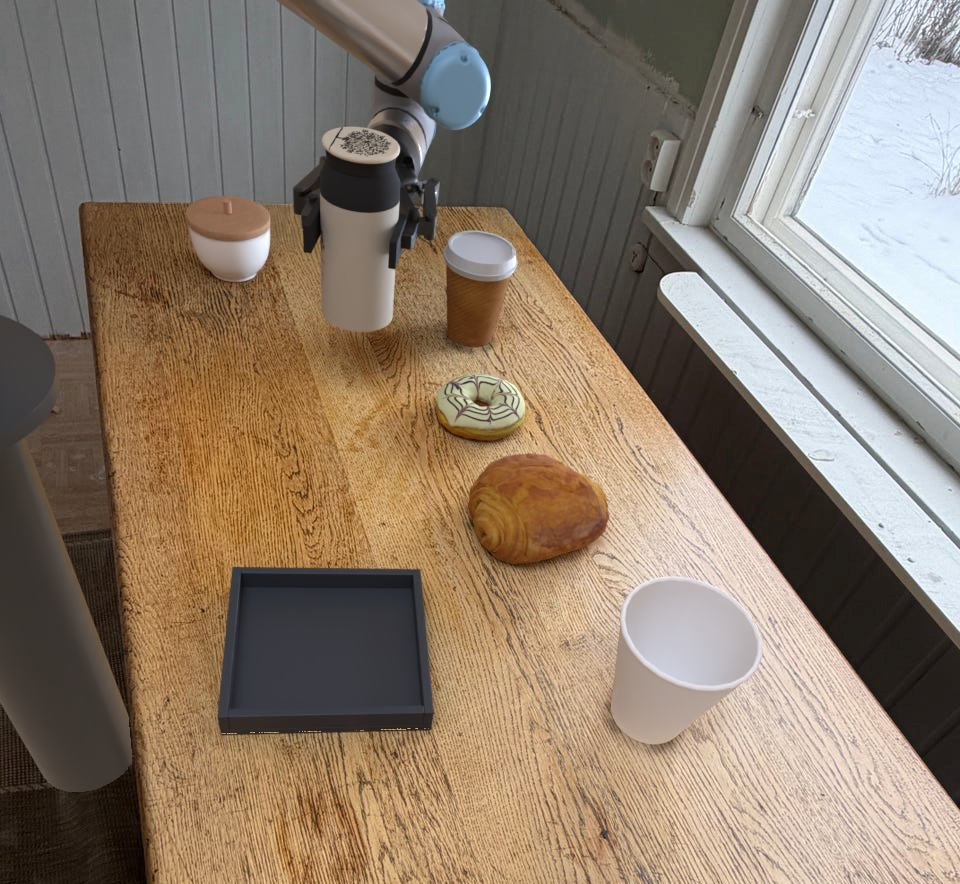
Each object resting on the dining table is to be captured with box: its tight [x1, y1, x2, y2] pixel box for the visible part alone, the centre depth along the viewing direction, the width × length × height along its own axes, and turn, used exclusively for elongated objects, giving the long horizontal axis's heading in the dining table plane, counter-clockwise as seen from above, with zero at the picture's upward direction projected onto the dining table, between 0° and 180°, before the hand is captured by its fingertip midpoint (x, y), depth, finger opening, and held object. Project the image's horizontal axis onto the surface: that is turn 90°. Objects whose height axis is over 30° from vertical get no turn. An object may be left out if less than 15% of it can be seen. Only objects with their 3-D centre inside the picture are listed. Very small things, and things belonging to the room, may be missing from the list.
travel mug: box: [320, 126, 401, 333], centre depth 84 cm, size 8×8×18 cm
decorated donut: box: [435, 373, 526, 441], centre depth 97 cm, size 10×11×4 cm
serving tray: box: [216, 566, 435, 736], centre depth 73 cm, size 18×17×3 cm
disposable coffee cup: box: [442, 229, 518, 347], centre depth 106 cm, size 10×10×12 cm
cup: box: [610, 575, 763, 746], centre depth 70 cm, size 12×12×12 cm
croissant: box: [467, 453, 610, 565], centre depth 86 cm, size 14×16×8 cm
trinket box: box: [185, 195, 271, 283], centre depth 108 cm, size 11×11×9 cm
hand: (349, 247), depth 81 cm, fingers closed on travel mug, 8 cm apart
